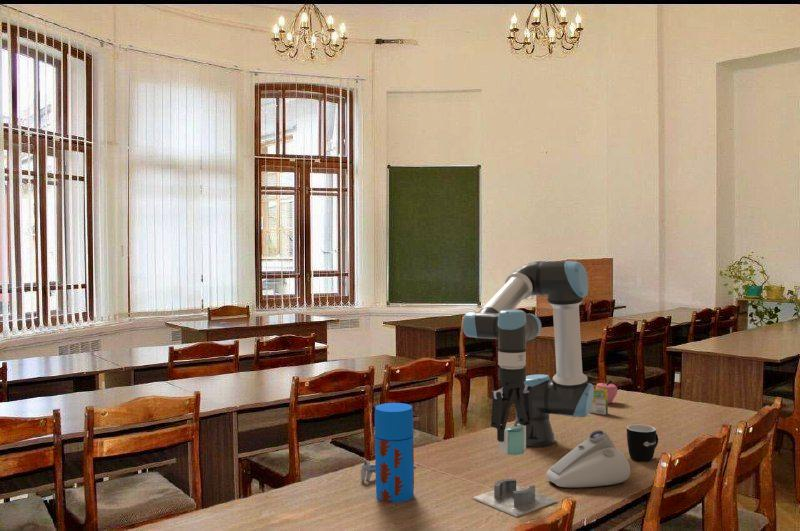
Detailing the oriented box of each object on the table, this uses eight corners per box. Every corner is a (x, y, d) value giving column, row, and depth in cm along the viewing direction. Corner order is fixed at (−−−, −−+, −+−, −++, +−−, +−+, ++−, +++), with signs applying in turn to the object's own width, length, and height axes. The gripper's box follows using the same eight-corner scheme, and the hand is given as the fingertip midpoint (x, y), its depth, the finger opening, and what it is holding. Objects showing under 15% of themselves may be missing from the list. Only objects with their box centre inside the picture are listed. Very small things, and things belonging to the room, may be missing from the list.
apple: (604, 399, 302) (604, 377, 302) (621, 403, 295) (621, 380, 295) (591, 403, 296) (591, 380, 295) (609, 406, 289) (609, 383, 289)
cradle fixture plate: (473, 499, 188) (473, 484, 188) (513, 485, 197) (513, 471, 197) (516, 517, 175) (516, 501, 175) (556, 501, 185) (556, 487, 185)
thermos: (392, 485, 199) (391, 400, 198) (421, 494, 192) (420, 406, 191) (367, 496, 190) (366, 408, 190) (397, 505, 184) (396, 414, 183)
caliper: (363, 483, 202) (362, 462, 202) (360, 482, 203) (360, 461, 203) (415, 468, 215) (415, 448, 214) (413, 467, 215) (413, 448, 215)
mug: (642, 465, 214) (642, 433, 213) (620, 457, 222) (620, 426, 221) (668, 458, 220) (668, 427, 219) (646, 451, 227) (646, 421, 227)
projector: (558, 464, 216) (558, 418, 216) (634, 473, 207) (634, 426, 206) (542, 487, 196) (542, 437, 196) (625, 499, 187) (625, 446, 186)
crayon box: (608, 413, 278) (607, 385, 278) (606, 415, 276) (605, 386, 275) (590, 411, 282) (590, 383, 282) (588, 412, 279) (587, 384, 279)
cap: (495, 450, 187) (495, 427, 187) (511, 446, 191) (511, 424, 191) (512, 456, 182) (512, 432, 182) (529, 452, 186) (529, 429, 186)
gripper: (496, 372, 177) (496, 460, 177) (546, 364, 189) (546, 447, 189) (476, 368, 183) (477, 453, 183) (526, 361, 195) (526, 441, 195)
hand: (512, 450), depth 186 cm, fingers closed on cap, 6 cm apart
